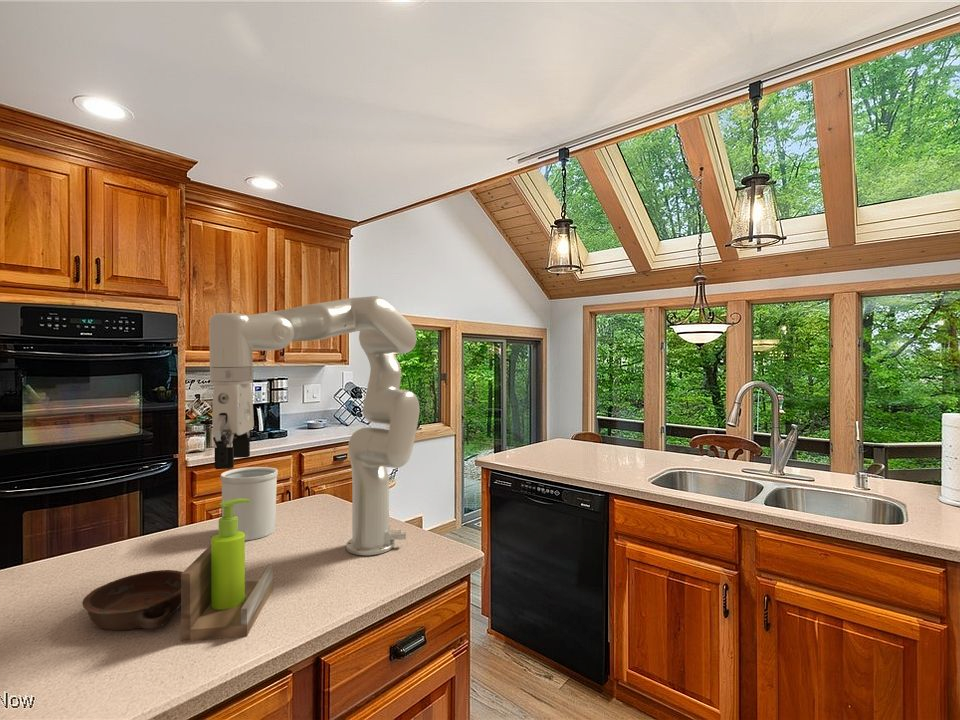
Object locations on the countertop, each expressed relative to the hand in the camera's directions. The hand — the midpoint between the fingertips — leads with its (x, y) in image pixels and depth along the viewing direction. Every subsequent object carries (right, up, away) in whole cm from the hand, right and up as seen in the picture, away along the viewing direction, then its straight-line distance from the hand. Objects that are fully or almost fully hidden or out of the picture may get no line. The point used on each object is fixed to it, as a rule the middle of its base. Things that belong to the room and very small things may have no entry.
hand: (233, 462), depth 96 cm
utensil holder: (-17, -30, +44) cm, 55 cm away
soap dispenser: (-1, -28, 0) cm, 28 cm away
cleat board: (0, -30, 0) cm, 30 cm away
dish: (-19, -30, 0) cm, 35 cm away
